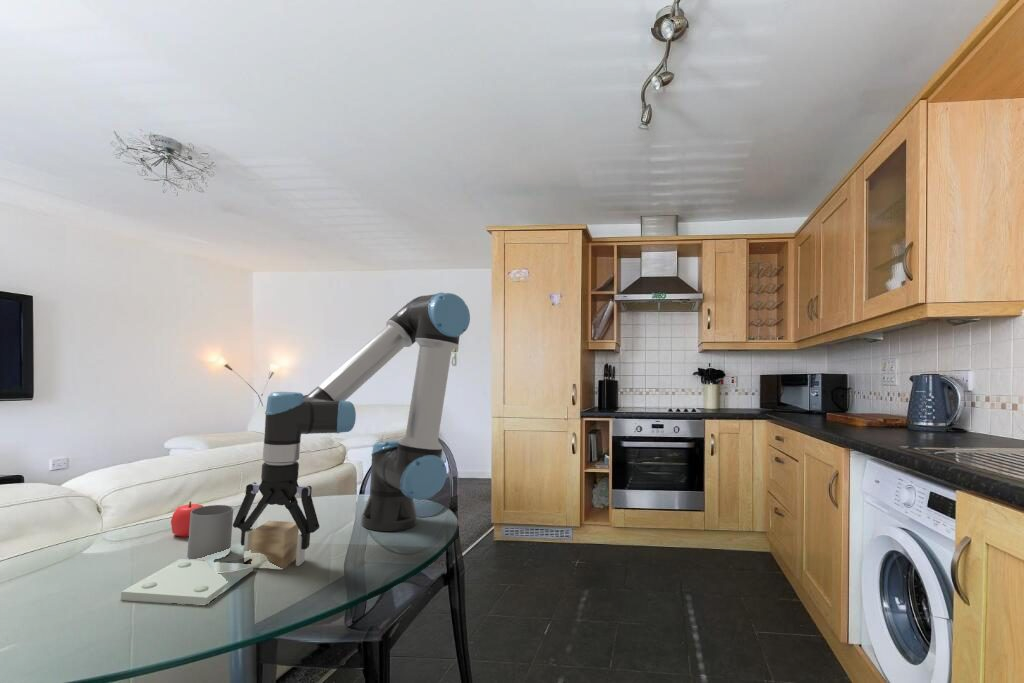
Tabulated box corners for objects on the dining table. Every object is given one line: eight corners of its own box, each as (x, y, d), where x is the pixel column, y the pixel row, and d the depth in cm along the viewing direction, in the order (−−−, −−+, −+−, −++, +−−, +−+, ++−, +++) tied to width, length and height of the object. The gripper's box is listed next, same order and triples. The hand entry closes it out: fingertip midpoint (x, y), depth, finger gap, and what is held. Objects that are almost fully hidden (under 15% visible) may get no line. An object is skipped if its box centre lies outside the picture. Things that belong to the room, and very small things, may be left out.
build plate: (253, 570, 110) (253, 563, 110) (206, 605, 94) (206, 596, 94) (179, 566, 111) (180, 558, 111) (120, 600, 95) (121, 590, 95)
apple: (195, 539, 127) (198, 506, 127) (161, 539, 126) (164, 505, 126) (212, 529, 135) (214, 498, 135) (180, 528, 134) (182, 497, 134)
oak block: (296, 558, 119) (299, 522, 119) (282, 570, 112) (284, 532, 112) (266, 556, 119) (269, 520, 119) (250, 568, 112) (252, 530, 112)
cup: (185, 563, 112) (188, 516, 113) (188, 550, 120) (192, 506, 120) (229, 558, 116) (233, 513, 117) (230, 546, 123) (233, 503, 124)
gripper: (339, 461, 119) (332, 558, 118) (238, 455, 120) (231, 552, 119) (326, 468, 112) (319, 572, 111) (219, 461, 113) (211, 564, 112)
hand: (273, 561), depth 115 cm, fingers open, 11 cm apart
